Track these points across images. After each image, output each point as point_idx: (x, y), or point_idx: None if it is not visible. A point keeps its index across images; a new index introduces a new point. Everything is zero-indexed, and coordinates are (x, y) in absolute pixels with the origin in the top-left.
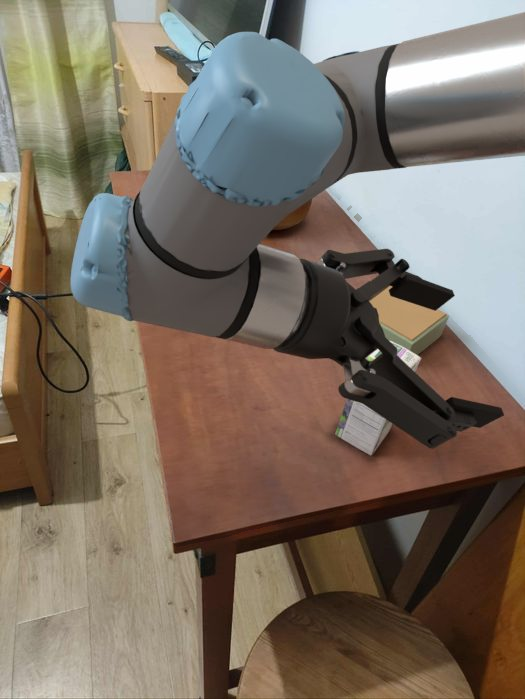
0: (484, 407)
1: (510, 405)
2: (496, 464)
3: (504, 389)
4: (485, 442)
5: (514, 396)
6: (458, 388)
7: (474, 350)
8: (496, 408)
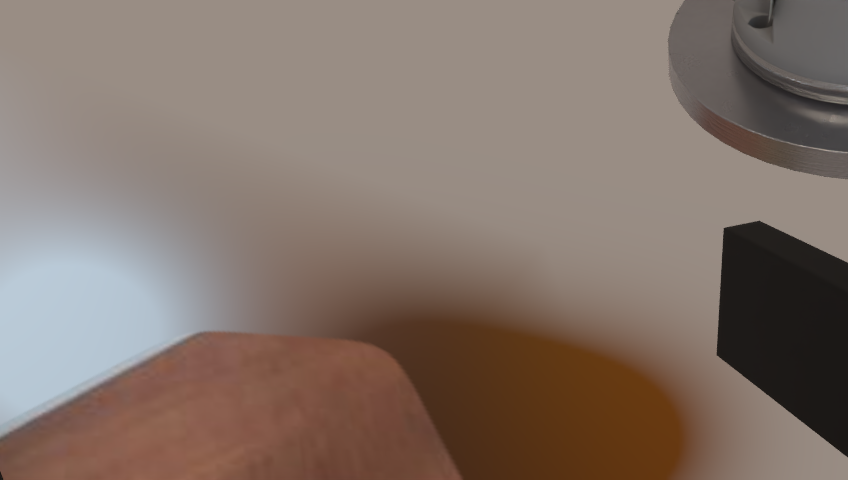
0: (843, 275)
1: (204, 349)
2: (399, 392)
3: (151, 358)
4: (332, 414)
5: (174, 338)
6: (143, 474)
7: (4, 423)
8: (761, 240)
